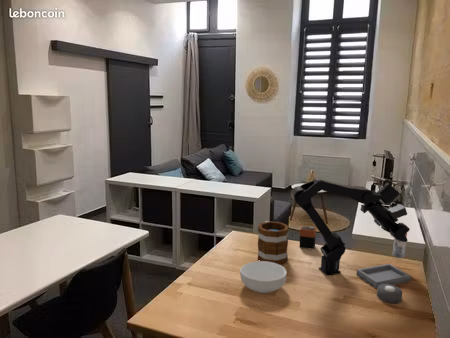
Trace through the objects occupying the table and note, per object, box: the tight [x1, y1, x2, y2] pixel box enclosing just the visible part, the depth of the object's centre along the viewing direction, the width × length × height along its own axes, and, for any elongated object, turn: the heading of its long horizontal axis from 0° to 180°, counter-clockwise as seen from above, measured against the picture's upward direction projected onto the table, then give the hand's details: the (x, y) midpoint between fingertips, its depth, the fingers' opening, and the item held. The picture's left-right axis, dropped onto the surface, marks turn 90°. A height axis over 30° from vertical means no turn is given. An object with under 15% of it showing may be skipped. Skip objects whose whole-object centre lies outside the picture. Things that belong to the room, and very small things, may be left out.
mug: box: [257, 220, 289, 266], centre depth 163 cm, size 20×14×15 cm
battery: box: [299, 225, 317, 250], centre depth 174 cm, size 4×7×10 cm, turn 70°
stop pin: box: [391, 232, 408, 259], centre depth 148 cm, size 4×4×10 cm
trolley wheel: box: [376, 284, 403, 304], centre depth 130 cm, size 8×8×4 cm
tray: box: [356, 263, 412, 289], centre depth 144 cm, size 16×11×2 cm
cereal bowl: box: [239, 260, 288, 294], centre depth 136 cm, size 17×17×7 cm
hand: (403, 239), depth 148 cm, fingers closed on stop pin, 4 cm apart
